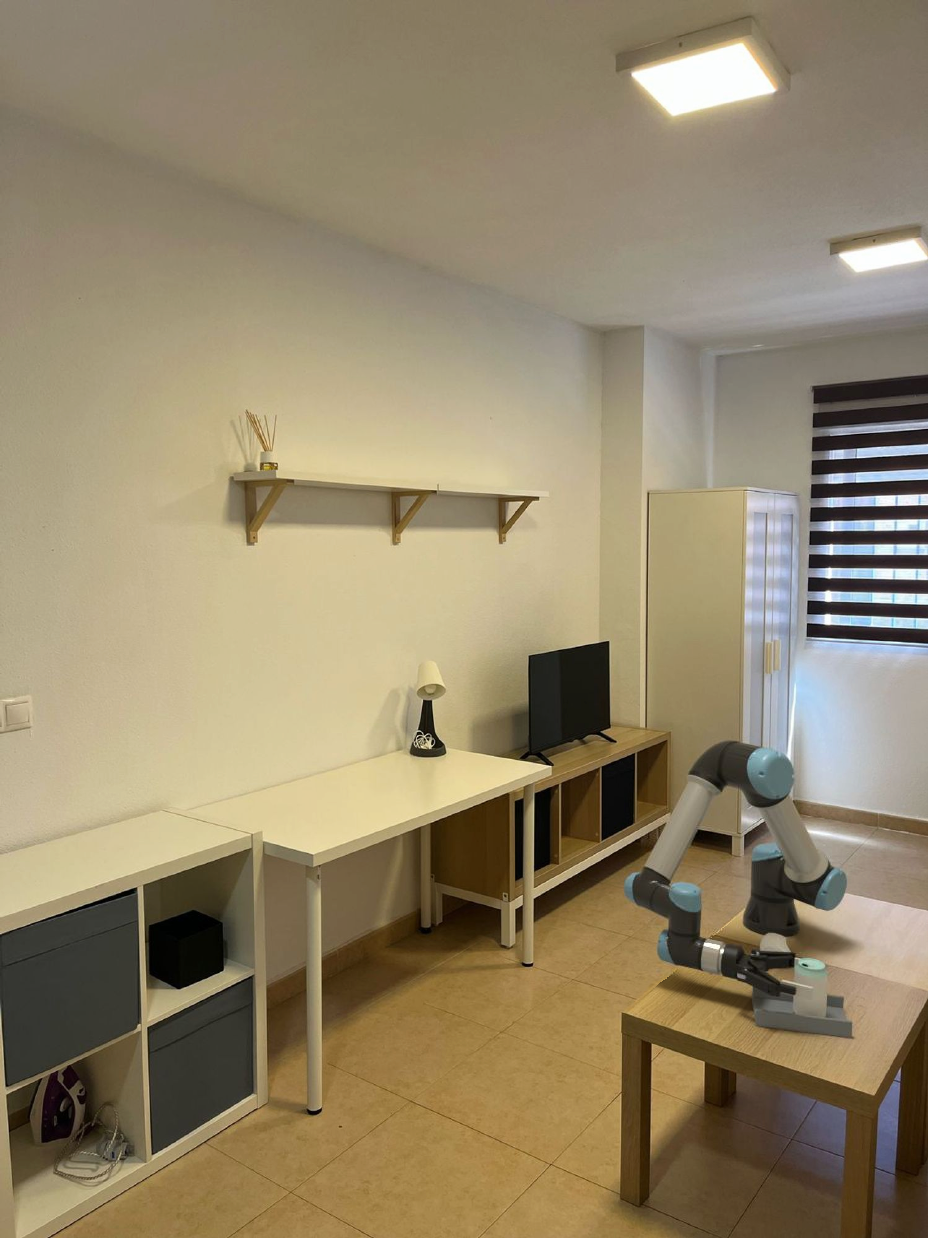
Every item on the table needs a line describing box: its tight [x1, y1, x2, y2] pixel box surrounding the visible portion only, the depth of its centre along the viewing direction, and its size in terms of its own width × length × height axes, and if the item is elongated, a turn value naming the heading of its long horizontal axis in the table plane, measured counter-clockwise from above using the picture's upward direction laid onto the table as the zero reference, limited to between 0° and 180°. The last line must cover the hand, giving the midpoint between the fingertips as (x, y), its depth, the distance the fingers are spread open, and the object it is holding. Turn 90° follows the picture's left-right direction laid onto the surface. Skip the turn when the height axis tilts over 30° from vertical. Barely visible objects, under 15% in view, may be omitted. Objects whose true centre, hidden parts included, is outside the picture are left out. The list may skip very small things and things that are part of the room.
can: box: [793, 957, 829, 1017], centre depth 214 cm, size 7×7×12 cm
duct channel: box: [751, 986, 853, 1039], centre depth 215 cm, size 13×20×4 cm, turn 77°
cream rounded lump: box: [759, 933, 792, 952], centre depth 244 cm, size 8×8×8 cm
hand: (818, 982), depth 213 cm, fingers open, 13 cm apart
